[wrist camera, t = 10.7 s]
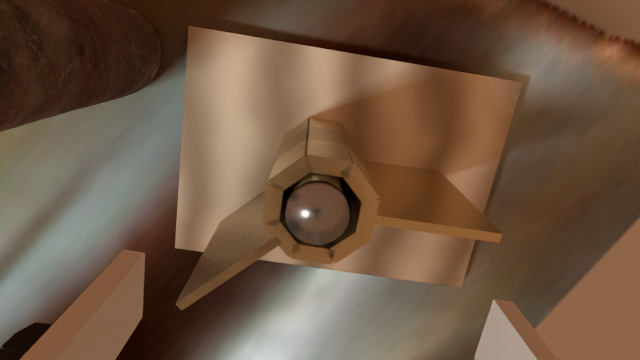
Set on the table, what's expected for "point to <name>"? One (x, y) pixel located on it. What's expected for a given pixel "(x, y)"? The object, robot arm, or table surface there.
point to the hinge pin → (317, 209)
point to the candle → (70, 56)
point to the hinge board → (360, 122)
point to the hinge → (363, 200)
